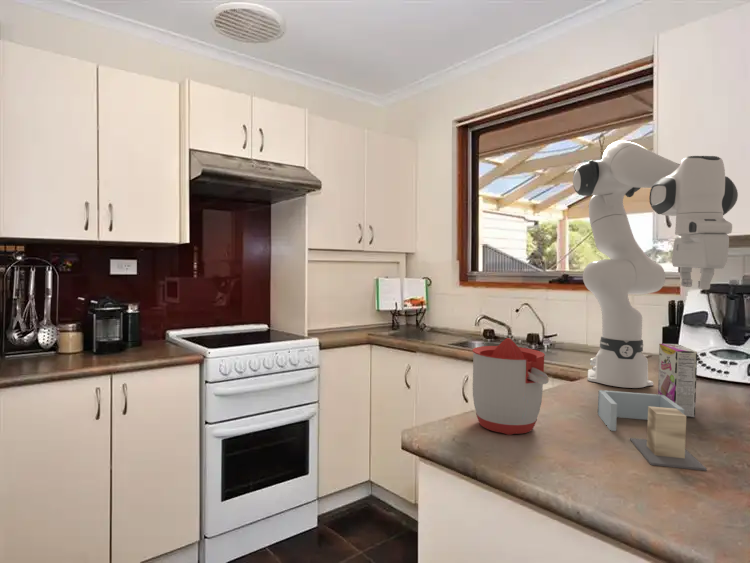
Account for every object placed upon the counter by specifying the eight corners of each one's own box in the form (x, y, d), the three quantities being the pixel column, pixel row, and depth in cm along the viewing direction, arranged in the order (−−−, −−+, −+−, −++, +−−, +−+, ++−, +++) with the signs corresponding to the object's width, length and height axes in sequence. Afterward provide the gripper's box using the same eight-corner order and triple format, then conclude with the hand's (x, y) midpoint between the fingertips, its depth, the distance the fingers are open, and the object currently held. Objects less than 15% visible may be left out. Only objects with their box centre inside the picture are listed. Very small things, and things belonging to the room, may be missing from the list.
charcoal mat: (630, 439, 99) (630, 437, 99) (678, 444, 97) (678, 442, 97) (650, 464, 86) (650, 462, 86) (706, 470, 84) (706, 468, 84)
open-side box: (597, 414, 116) (598, 389, 116) (662, 419, 113) (663, 394, 113) (610, 430, 105) (611, 403, 104) (683, 437, 101) (684, 409, 101)
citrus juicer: (519, 447, 94) (522, 347, 93) (455, 422, 108) (458, 335, 107) (564, 432, 103) (567, 341, 102) (500, 411, 117) (502, 331, 116)
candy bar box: (655, 403, 127) (658, 342, 126) (676, 405, 126) (679, 344, 125) (673, 416, 116) (676, 350, 115) (696, 418, 115) (698, 351, 114)
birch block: (646, 445, 95) (648, 406, 95) (674, 448, 94) (676, 408, 93) (655, 455, 90) (656, 413, 90) (684, 458, 89) (686, 416, 89)
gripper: (666, 229, 118) (663, 285, 119) (701, 223, 98) (697, 290, 99) (695, 229, 116) (691, 285, 117) (736, 224, 96) (732, 291, 97)
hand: (694, 288), depth 108 cm, fingers open, 8 cm apart
